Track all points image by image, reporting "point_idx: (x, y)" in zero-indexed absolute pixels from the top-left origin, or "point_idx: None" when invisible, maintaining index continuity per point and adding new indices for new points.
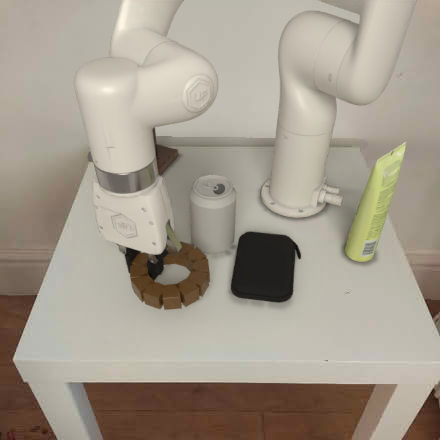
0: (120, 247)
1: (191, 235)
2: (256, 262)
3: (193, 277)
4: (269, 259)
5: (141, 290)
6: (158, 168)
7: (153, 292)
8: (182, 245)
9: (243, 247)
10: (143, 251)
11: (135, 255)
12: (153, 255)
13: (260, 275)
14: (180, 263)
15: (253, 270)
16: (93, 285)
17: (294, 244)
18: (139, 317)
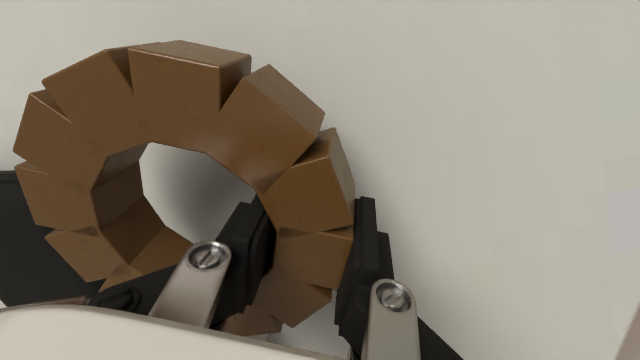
0: (405, 319)
1: (255, 337)
2: (44, 278)
3: (69, 199)
4: (24, 288)
5: (238, 84)
6: None
7: (170, 81)
8: None
9: None
10: (136, 327)
11: (344, 274)
12: (173, 287)
13: (3, 242)
14: None
15: (30, 255)
16: (513, 148)
17: None
18: (304, 38)
